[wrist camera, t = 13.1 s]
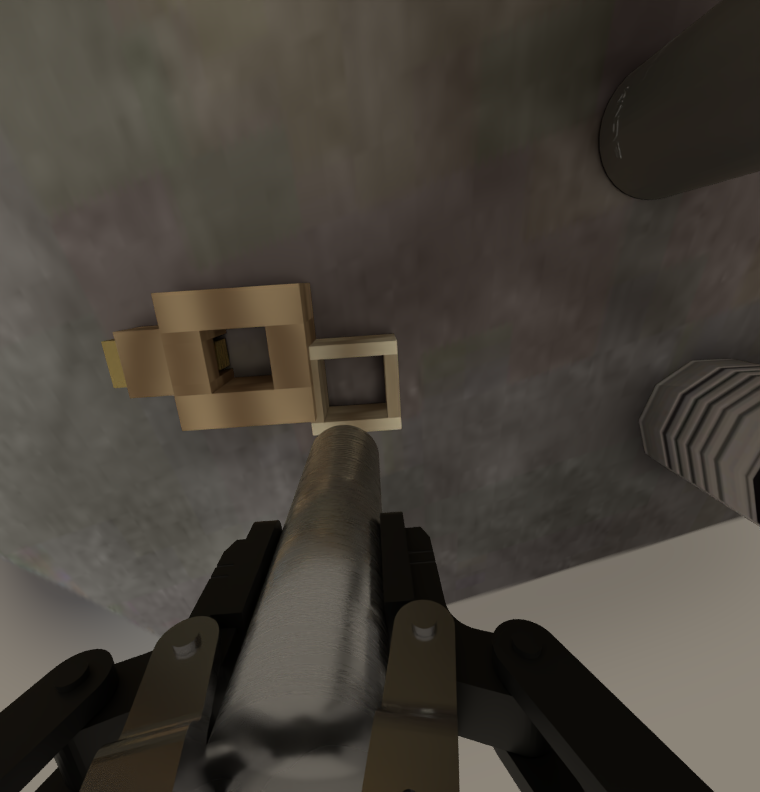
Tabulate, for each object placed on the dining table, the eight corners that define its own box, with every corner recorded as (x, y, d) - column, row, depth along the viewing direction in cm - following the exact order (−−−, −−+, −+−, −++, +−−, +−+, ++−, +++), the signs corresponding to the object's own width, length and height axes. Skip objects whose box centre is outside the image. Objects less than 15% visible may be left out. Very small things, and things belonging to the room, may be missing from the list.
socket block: (309, 283, 31) (298, 283, 26) (322, 401, 34) (315, 421, 29) (134, 294, 31) (91, 297, 26) (163, 412, 34) (128, 434, 29)
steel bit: (376, 422, 18) (389, 687, 6) (381, 484, 18) (401, 819, 7) (306, 427, 18) (186, 703, 6) (314, 489, 18) (223, 833, 7)
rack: (393, 333, 32) (396, 340, 28) (397, 412, 34) (401, 429, 30) (310, 339, 32) (302, 347, 28) (319, 418, 34) (313, 435, 30)
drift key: (224, 329, 32) (210, 334, 29) (232, 372, 33) (219, 380, 30) (124, 336, 32) (101, 341, 29) (134, 379, 33) (113, 388, 30)
